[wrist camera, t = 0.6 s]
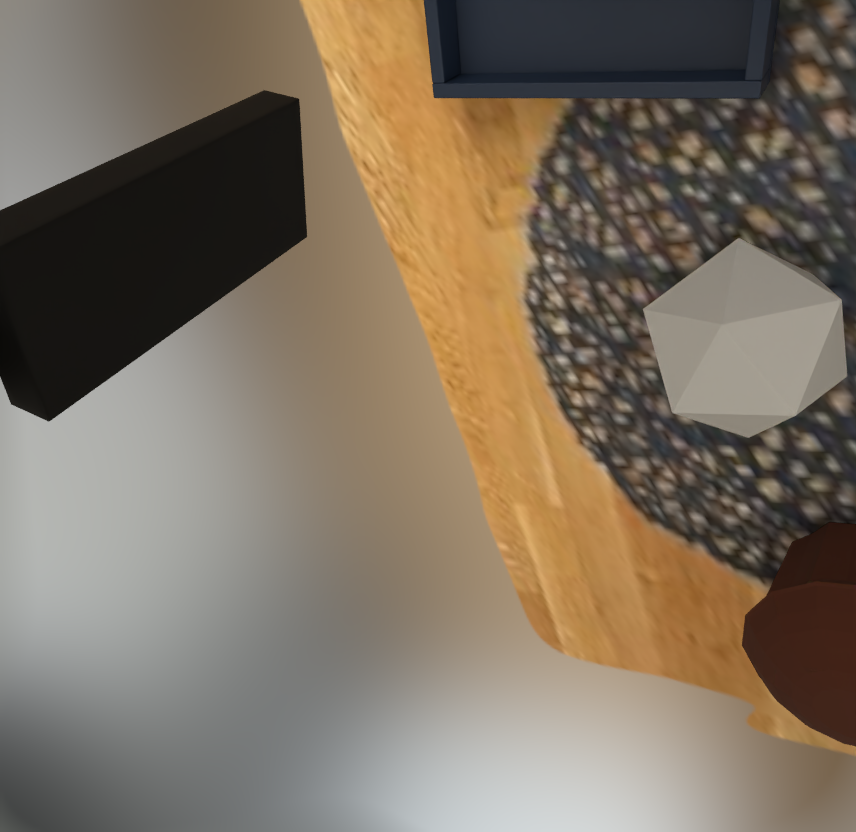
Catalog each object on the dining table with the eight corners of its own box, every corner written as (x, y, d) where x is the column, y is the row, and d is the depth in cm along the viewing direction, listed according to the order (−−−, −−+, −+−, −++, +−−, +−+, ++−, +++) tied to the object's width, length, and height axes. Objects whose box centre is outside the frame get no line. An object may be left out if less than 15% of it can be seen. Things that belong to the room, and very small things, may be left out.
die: (724, 183, 38) (581, 317, 37) (903, 234, 32) (738, 399, 30) (747, 302, 44) (625, 421, 43) (902, 366, 37) (764, 508, 36)
